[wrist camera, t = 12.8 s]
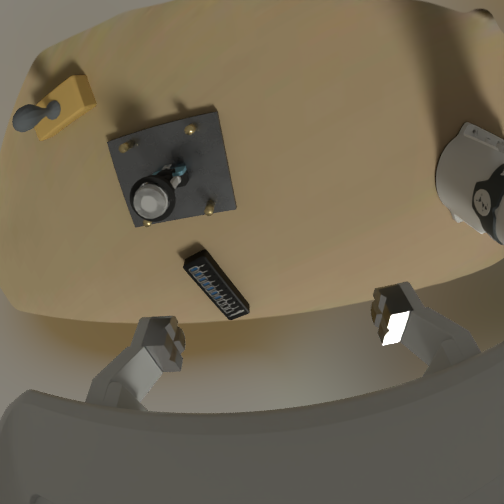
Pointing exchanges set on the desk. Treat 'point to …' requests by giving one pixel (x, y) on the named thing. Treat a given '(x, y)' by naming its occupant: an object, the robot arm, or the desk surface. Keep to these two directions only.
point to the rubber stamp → (56, 108)
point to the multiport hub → (216, 285)
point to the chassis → (178, 164)
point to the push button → (157, 193)
